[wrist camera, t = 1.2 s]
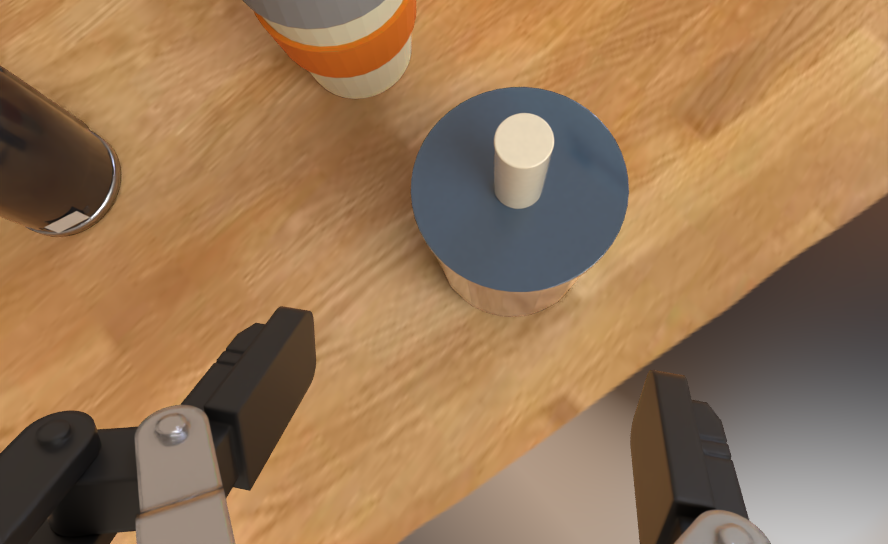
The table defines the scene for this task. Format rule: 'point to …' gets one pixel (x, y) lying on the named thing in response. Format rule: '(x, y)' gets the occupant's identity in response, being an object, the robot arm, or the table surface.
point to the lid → (519, 190)
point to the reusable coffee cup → (343, 40)
